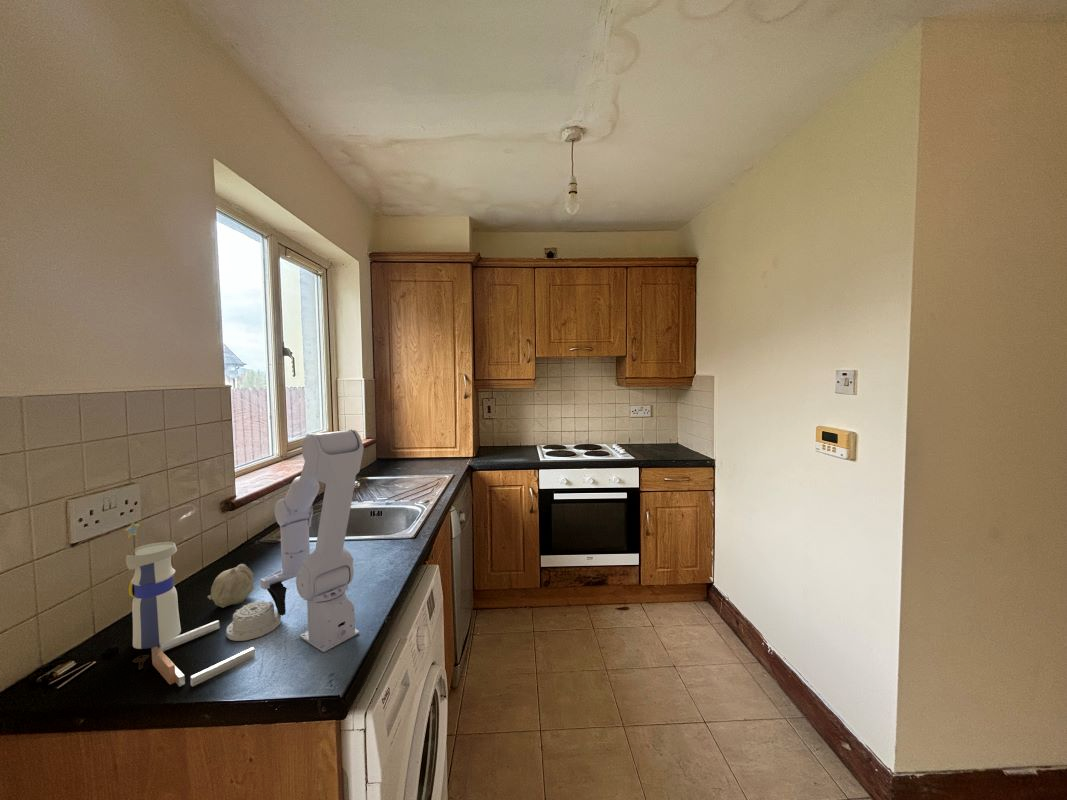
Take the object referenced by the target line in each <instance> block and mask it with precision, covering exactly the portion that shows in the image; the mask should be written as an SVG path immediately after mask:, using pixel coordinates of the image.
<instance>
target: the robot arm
mask: <svg viewBox="0 0 1067 800" xmlns="http://www.w3.org/2000/svg"><path fill="white" fill-rule="evenodd" d="M364 449H365V447H364V444H363V442H362V438H361V435H360V434H359V432H358V431H357V430H355V429H353V428H352V429H346V430H339V431H331V432H322V433H321V432H320V433H308V434H306V435H305V436H304V439H303V440H302V443H301V454H302V457H303V460H304V464H303V467H302V470H301V472H300V473H301V474H300V475H299V476H297V477H295V478H293V480H292V482H291V484H290V485H289V488H288V490H287V492H286V494H285V497H283V498H280V499H278V500H277V501H276V502H275V505H274V517H275V520H276V523H277V524H278V525H279V527H280V549H281V552H280V553H281V569H278V570H276V571H275V572H273V573H271V574H269V575H267V576H265V577H262V578H260V579H259V580H260V582H259V583H260V588H261V589H262V590H267V592H268V593H269V595H270V596H271V598H272V599H273V601H274V602H273V603H274V606H275V607H276V611H277V612H278V614H280V615H281V617H282V616H285V615H286V610H287V609H286V594H287V589H288V587H286V586H284V583H283V582H286V581H288V580H291V579H293V578H295V583H296V584H295V586H296V590H297V593H298V595H299V596H300V598H301V599H302V600H305V601H306V604H307V605H306V608H307V628H308V629H307V630H306V631H304V632H302V633H300V635H299V638H300V639H302V640H303V641H305V642H307V643H309V644H310V645H311V646H313V647H314V648H316V649H317V650H319V651H320V652H323V653H326V652H327V651H329V650H331V649H333V648H335V647H336V646H338V645H340V644H341V643H343V642H346V641H347V640H348V639H351V638H353V637H354V636H356V635H359V633H360V630H359V629H357V628H356V621H355V619H356V617H355V606H354V603H353V602H352V601H351V600H349V598H348V597H347V594H346V591H348V589H349V584H351V583H352V581H353V579H354V575H355V574H354V572H355V571H354V558H353V555H352V554H351V553H350V552H349V550H348V549H347V548H345V547H344V545H345V540H346V534H347V529H348V524H349V519H350V513H351V512H350V511H351V508H352V507H351V506H352V503H353V495H354V490H355V487H356V486H355V484H356V477H357V475H358V474H359V473H360V470H361V465H362V460H363V455H364ZM319 482H320V483H323V484H325V487H324V488H325V489H324V494H323V499H322V500H323V501H322V504H321V505H322V506H321V512H320V513H321V514H320V520H319V524H318V531H317V537H316V538H317V539H316V544H315V549H314V550H313V551H312V553H311V551H310V549H311V548H310V547H311V546H310V528H311V526H312V517H313V515H314V508H313V503H314V501H315V500H316V497H317V495H318V494H319V491H320V488H321V487H320V483H319Z"/></svg>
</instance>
